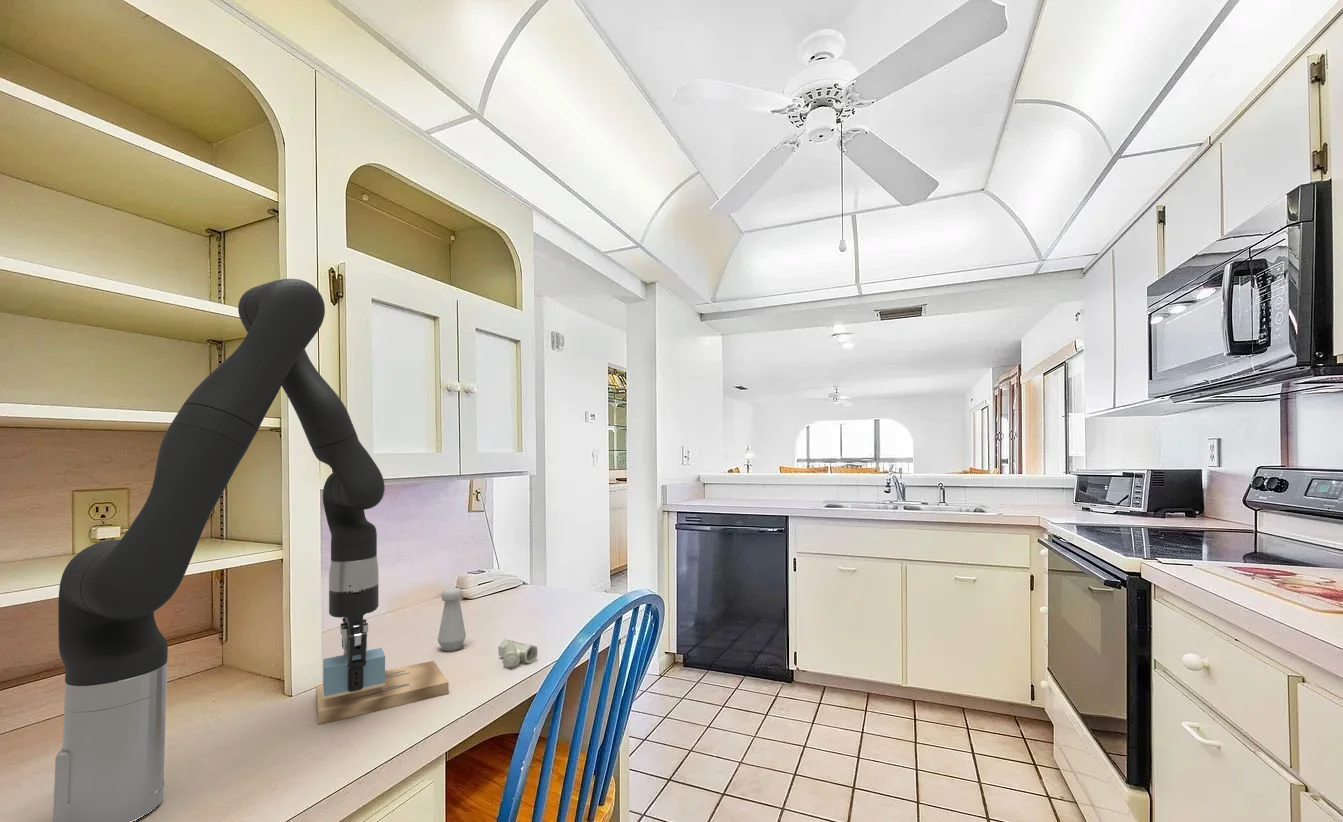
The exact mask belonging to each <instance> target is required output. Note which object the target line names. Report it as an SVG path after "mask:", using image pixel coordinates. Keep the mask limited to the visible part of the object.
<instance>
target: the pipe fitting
mask: <svg viewBox="0 0 1343 822" xmlns="http://www.w3.org/2000/svg"><path fill="white" fill-rule="evenodd" d="M497 650H498V656H499V657H502V664H503V666H504V667H505V668H506V669H511V668H510V667H514V668H517V666H518V665H519V664H520V662H521V663H526V664H532V663H534V662H535V661H536V660H537V657H538V654H539V653H538V646H536V645H533V644H528V643H522V642H518V641H515V640H511V639H506V638H504V639H503V640H502V641H501V642H500V643H499V645H498V649H497ZM508 667H509V668H508Z"/></svg>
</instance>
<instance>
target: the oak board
mask: <svg viewBox="0 0 1343 822" xmlns="http://www.w3.org/2000/svg"><path fill="white" fill-rule="evenodd" d="M315 687H316V688H315V698H316V699H315V700H316V706H317V707H316V709H317V717H318V718H317V720H318V725H323V724H327V723H331V722H332V723H333V722H336V721H340V720H344V719H349V718H353V717H357V716H361V715H364V714H369V713H374V712H378V711H382V710H385V709H390V708H394V707H398V706H399V707H400V706H402V705H407V704H410V703H411V704H412V703H416V702H419V701H423V700H428V699H431V698H435V697H439V696H440V697H441V696H444V695H449V681H448V679H447V678H446V676H445V675H444V674H443V672H442V671H441V669H440V667H439V666H438V665H437V663H436V662H435V661H434V660H431V661H426V662H421V663H416V664H411V665H407V666H402V667H397V668H393V669H387V670H386V669H385V686H381V687H377V688H372V689H368V690H364V691H359V692H355V693H350V694H346V695H342V696H337V697H333V698H328V699H324V692H323V683H319V684H316V685H315Z"/></svg>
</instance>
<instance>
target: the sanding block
mask: <svg viewBox="0 0 1343 822" xmlns="http://www.w3.org/2000/svg"><path fill="white" fill-rule="evenodd" d="M358 659H360V655H355V656H353V657H352V661H353V660H358ZM322 661H323V663H322V666H323V667H322V669H323V670H322V671H323V672H322V677H323V678H322V679H323V681H322V684H323V692H324V699H328V698H333V697H337V696H342V695H346V694H350V693H355V692H359V691H364V690H368V689H372V688H377V687H381V686H385V671H386V655H385V652H384V650H383V648H382V647H377V648H372V649H367V650H366V665H365V666H363V688H362V689H361V690H357V691H353V692H349V691H348V668H347V655H344V654H342V655H337V656H336V655H335V656H331V657H327V658H323V660H322Z"/></svg>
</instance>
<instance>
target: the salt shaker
mask: <svg viewBox="0 0 1343 822" xmlns="http://www.w3.org/2000/svg"><path fill="white" fill-rule="evenodd" d="M462 597H463V590H462V589H461V588H459V587H449V588H448V587H447V588H445V589H444V590H443V591H441V600H442V601H444V604H443V609H442V614H441V615H442V616H441V621H440V626H439V632H438V636H437V642H438V644H439V646H440V648H441V650H442V652H449V651H451V652H454V650H455V651H458V649H459V650H460V649H461V648H462V647H463V644H464V643H465V640H466V635H467V633H466V629H465V624H464V619H463V612H462V606H461V599H462Z"/></svg>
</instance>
